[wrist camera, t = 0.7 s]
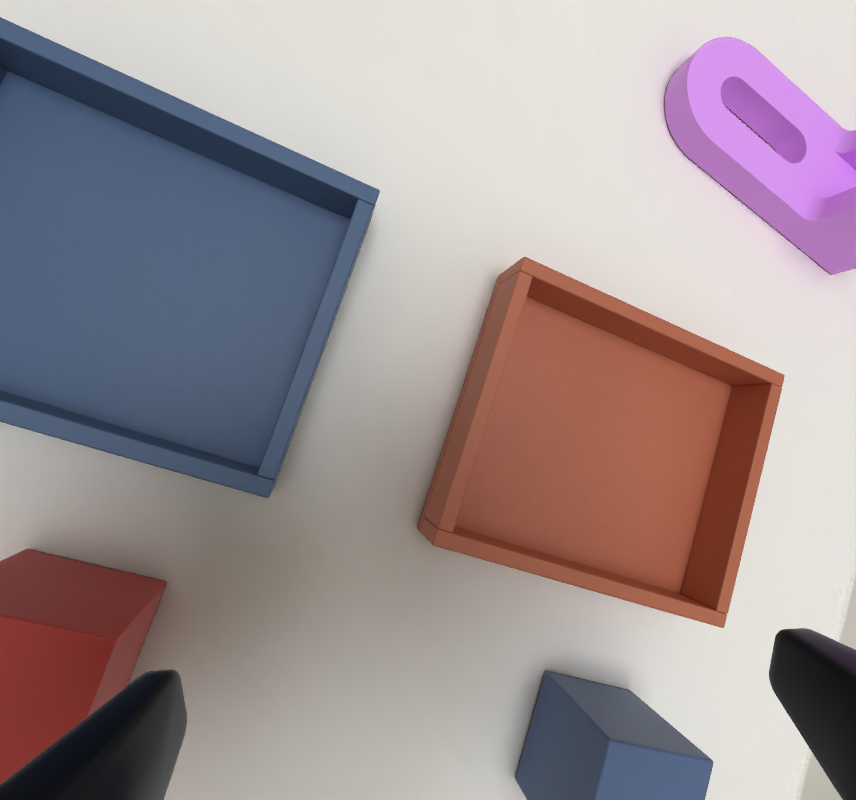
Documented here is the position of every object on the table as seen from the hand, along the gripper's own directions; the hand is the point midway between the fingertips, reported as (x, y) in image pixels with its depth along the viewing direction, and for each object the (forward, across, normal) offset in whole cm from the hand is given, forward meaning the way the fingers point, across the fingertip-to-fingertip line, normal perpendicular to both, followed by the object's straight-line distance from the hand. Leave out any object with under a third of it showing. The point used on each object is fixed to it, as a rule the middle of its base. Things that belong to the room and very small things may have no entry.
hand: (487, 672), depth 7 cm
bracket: (+20, -18, -12) cm, 29 cm away
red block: (+8, +12, +5) cm, 16 cm away
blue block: (+10, -6, +13) cm, 18 cm away
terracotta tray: (+14, -7, +2) cm, 16 cm away
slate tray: (+12, +10, -6) cm, 17 cm away
